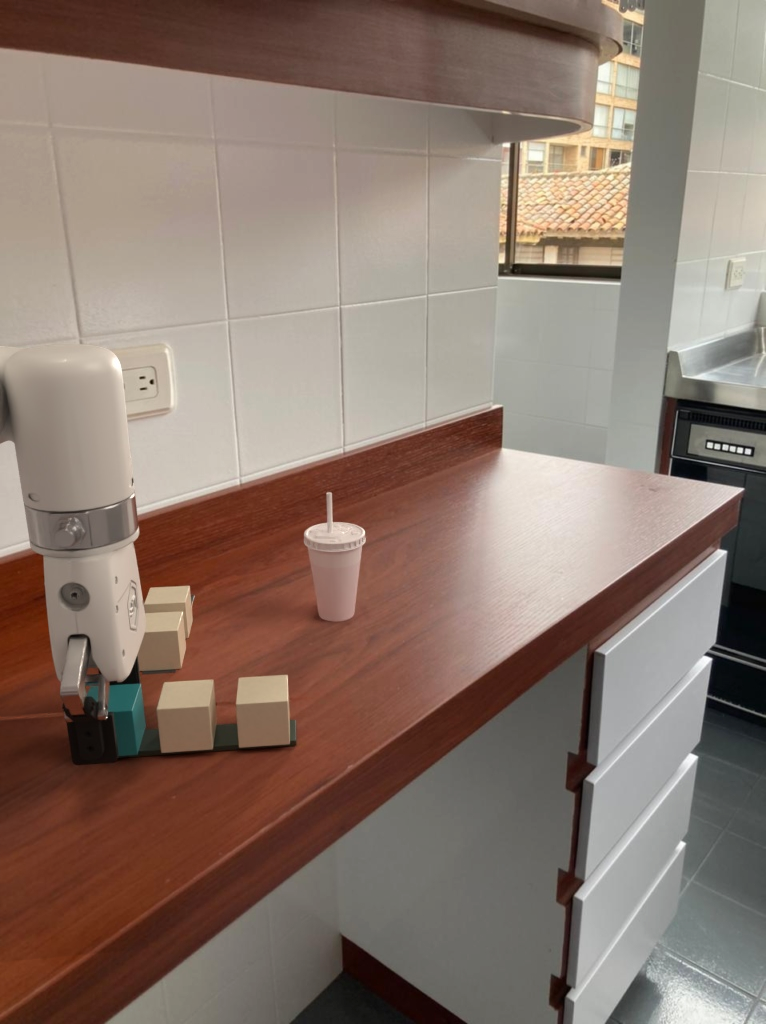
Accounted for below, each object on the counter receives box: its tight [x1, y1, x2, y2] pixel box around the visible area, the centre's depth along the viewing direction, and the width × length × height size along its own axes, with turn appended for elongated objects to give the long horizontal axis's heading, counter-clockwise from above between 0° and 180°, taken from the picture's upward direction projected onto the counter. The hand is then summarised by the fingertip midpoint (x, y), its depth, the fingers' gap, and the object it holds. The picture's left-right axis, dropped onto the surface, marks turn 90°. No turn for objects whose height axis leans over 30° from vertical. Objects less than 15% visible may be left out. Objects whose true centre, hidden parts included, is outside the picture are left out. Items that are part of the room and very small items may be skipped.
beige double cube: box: [138, 585, 195, 675], centre depth 82 cm, size 4×17×4 cm, turn 6°
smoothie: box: [303, 491, 367, 622], centre depth 85 cm, size 6×6×14 cm
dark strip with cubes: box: [117, 674, 297, 759], centre depth 65 cm, size 17×4×4 cm, turn 96°
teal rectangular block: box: [86, 683, 147, 756], centre depth 64 cm, size 4×4×4 cm
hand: (109, 723), depth 64 cm, fingers open, 9 cm apart
